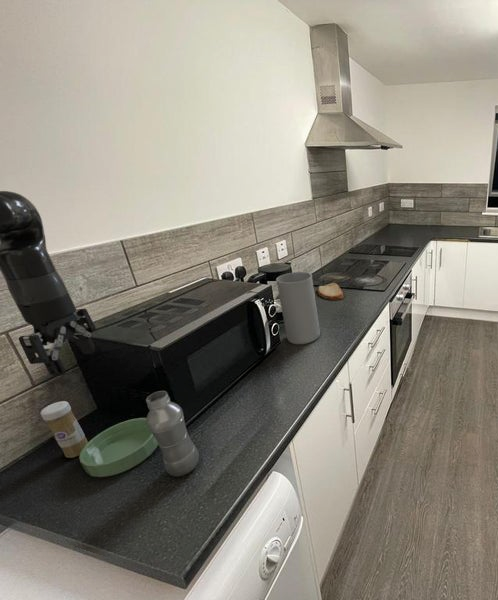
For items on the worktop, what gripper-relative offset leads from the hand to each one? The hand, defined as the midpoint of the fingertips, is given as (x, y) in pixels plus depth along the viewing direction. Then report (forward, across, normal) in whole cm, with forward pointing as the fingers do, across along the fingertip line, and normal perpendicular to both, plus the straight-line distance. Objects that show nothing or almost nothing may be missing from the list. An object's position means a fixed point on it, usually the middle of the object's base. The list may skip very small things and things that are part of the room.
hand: (75, 363), depth 71 cm
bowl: (+23, +4, +5) cm, 24 cm away
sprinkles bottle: (+24, +1, -7) cm, 25 cm away
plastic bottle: (+23, +11, +21) cm, 34 cm away
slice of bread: (+23, -92, +49) cm, 107 cm away
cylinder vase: (+23, -46, +40) cm, 65 cm away
